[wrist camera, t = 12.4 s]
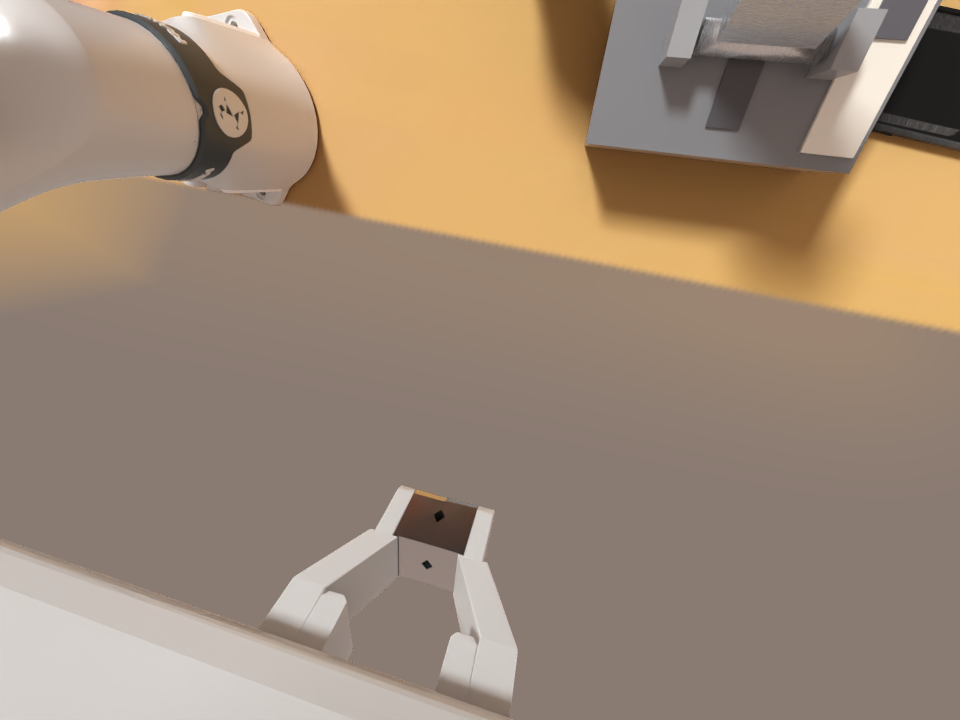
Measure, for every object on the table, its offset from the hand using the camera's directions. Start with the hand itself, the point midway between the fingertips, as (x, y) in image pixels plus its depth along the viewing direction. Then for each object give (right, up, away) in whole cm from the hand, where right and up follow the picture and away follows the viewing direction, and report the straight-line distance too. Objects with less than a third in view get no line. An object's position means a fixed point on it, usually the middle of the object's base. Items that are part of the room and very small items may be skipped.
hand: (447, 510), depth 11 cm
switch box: (+22, +30, +21) cm, 43 cm away
